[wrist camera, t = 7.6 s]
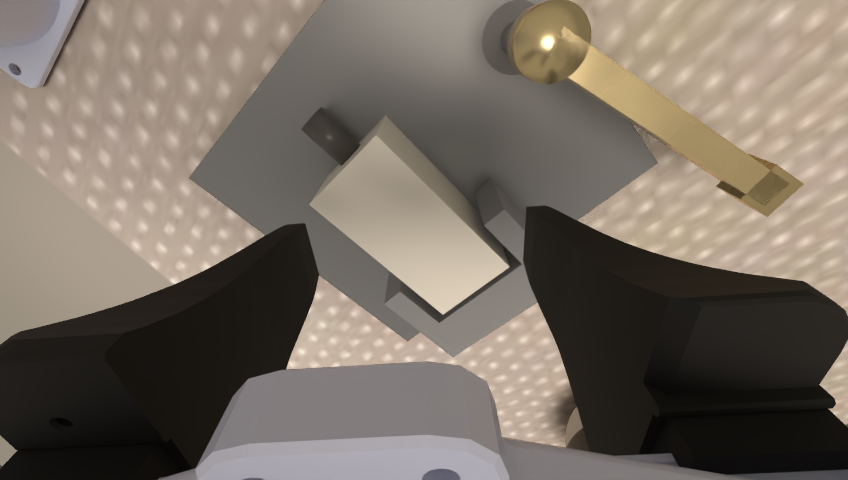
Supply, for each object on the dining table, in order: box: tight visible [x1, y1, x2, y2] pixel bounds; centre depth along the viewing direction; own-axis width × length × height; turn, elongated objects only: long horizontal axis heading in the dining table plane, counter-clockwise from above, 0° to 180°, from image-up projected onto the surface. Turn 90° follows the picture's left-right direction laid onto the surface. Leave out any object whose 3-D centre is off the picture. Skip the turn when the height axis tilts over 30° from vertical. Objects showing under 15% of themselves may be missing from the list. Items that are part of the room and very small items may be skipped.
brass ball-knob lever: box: [507, 0, 804, 217], centre depth 14 cm, size 2×13×1 cm, turn 61°
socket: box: [189, 0, 657, 357], centre depth 19 cm, size 17×19×5 cm
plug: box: [301, 107, 510, 314], centre depth 19 cm, size 11×4×4 cm, turn 44°
